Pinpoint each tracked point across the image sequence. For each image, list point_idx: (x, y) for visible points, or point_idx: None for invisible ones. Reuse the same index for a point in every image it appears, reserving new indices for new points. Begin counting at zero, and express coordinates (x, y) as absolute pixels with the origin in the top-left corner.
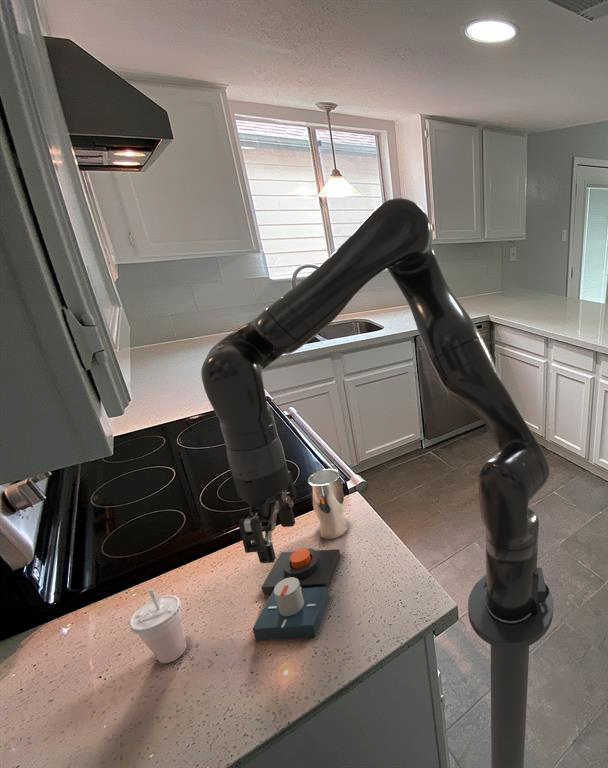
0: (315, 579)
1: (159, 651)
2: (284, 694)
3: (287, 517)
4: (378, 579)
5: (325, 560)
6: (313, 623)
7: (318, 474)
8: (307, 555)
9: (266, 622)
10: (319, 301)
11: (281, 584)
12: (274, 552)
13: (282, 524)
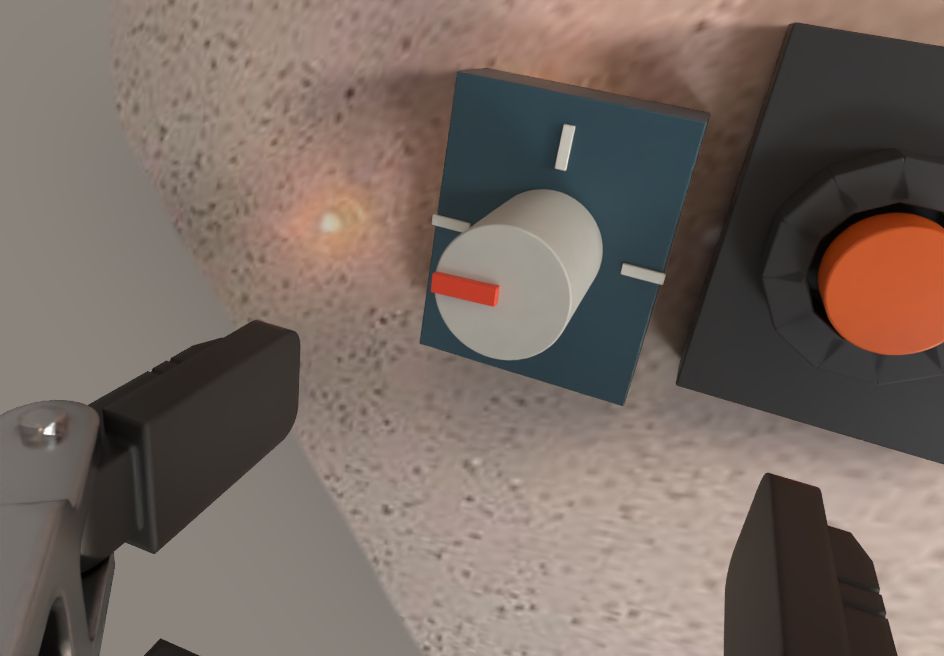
0: (728, 337)
1: None
2: (259, 230)
3: (742, 634)
4: (671, 565)
5: (874, 390)
6: (430, 345)
7: None
8: (868, 345)
9: (480, 135)
10: None
11: (522, 264)
12: (248, 470)
13: (762, 497)
